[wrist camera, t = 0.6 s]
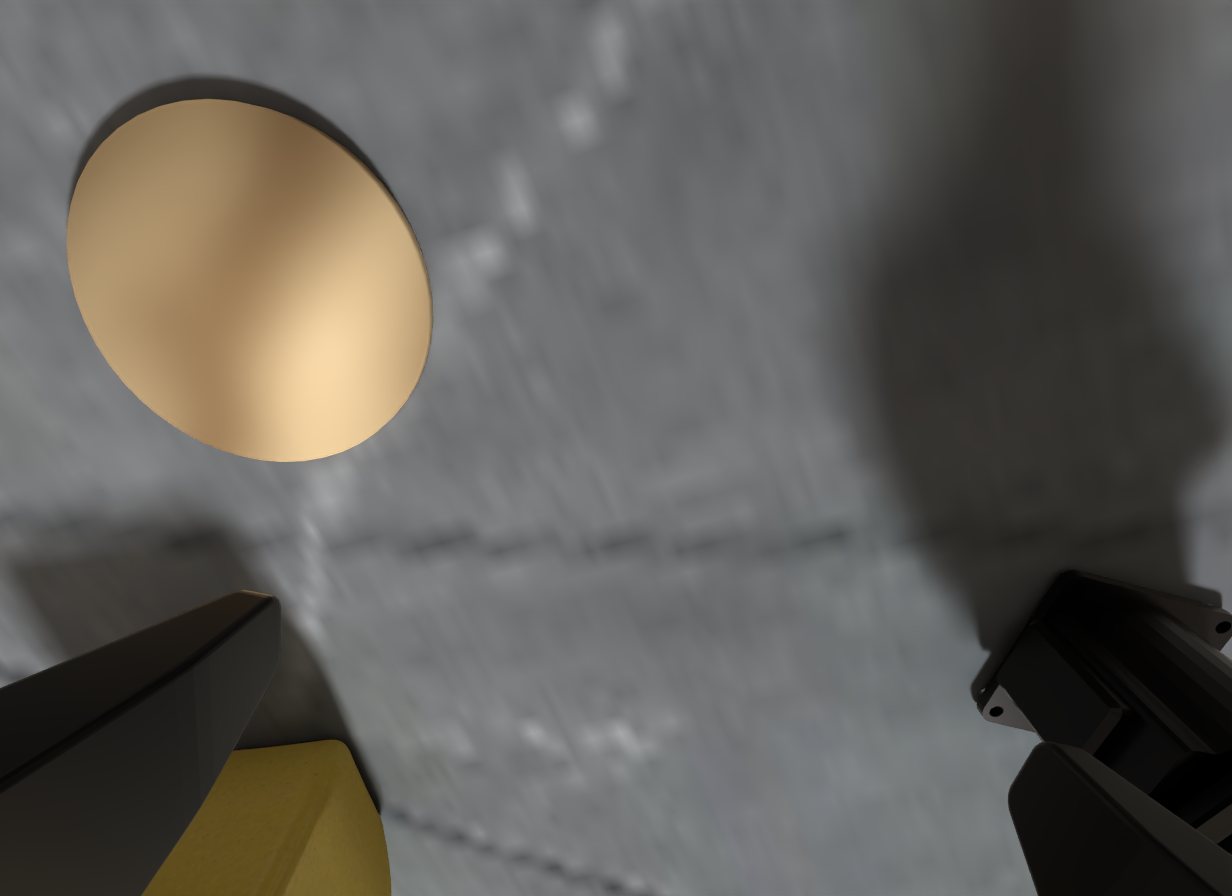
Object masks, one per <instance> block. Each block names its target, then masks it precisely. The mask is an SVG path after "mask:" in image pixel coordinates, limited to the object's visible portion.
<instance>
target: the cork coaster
mask: <svg viewBox="0 0 1232 896" xmlns="http://www.w3.org/2000/svg"><path fill="white" fill-rule="evenodd" d="M67 256H68V265H69V273H70V278H71V282H72V286H73V290H74V294H75V298H76V300H77V303H78V306H79V308H80V311H81V314H82V317H83V319H84V322H85V324H86V326H87V328H88V329H89V331H90V333H91V335H92V337H93V339H94V341H95V343H96V345H97V346H98V348H99V349H100V351H101V353H102V354H103V356H104V357H105V359H106V360H107V362H108V363H109V365H110V366H111V367H112V369H113V370H114V371H115V372H116V374H117V375H118V376H119V377H120V379H121V380H122V381H123V382H124V383H125V384H126V386H127V387H128V388H129V389H130V390H131V391H132V392H133V393H134V394H135V395H136V396H137V397H138V398H139V399H140V400H141V401H142V402H143V403H145V404H146V405H147V406H148V407H149V408H151V409H152V410H153V411H154V412H155V413H156V414H158V415H159V416H160V417H162V418H163V419H164V420H166V421H167V422H169V423H170V424H172V425H173V426H175V427H176V428H178V429H179V430H181V431H183V432H184V433H186V434H188V435H190V436H192V437H193V438H195V439H197V440H199V441H201V442H203V443H206V444H208V445H210V446H213V447H215V448H217V449H220V450H223V451H226V452H229V453H233V454H236V455H239V456H243V457H248V458H253V459H258V460H265V461H279V462H293V461H307V460H313V459H318V458H324V457H327V456H330V455H333V454H337V453H340V452H343V451H345V450H347V449H349V448H351V447H353V446H355V445H357V444H359V443H361V442H363V441H364V440H366V439H367V438H369V437H370V436H372V435H373V434H374V433H376V432H377V431H378V430H379V429H380V428H381V427H383V426H384V425H385V424H386V423H387V422H388V421H389V420H390V419H391V418H392V417H393V416H394V415H395V414H396V413H397V412H398V411H399V410H400V409H401V407H402V406H403V405H404V404H405V402H406V401H407V400H408V399H409V397H410V396H411V394H412V392H413V390H414V389H415V387H416V385H417V383H418V382H419V380H420V377H421V375H422V372H423V369H424V367H425V364H426V362H427V357H428V353H429V349H430V345H431V338H432V328H433V301H432V293H431V287H430V280H429V275H428V271H427V268H426V264H425V261H424V258H423V254H422V251H421V249H420V246H419V244H418V242H417V239H416V237H415V235H414V232H413V230H412V228H411V226H410V224H409V222H408V221H407V219H406V217H405V215H404V214H403V212H402V210H401V208H400V207H399V205H398V204H397V202H396V201H395V200H394V198H393V197H392V196H391V194H390V193H389V191H388V190H387V189H386V187H385V186H384V185H383V183H382V182H381V181H380V180H379V179H378V178H377V177H376V176H375V175H374V174H373V173H372V171H371V170H370V169H369V168H368V167H367V166H366V165H365V164H364V163H363V162H362V161H361V160H359V159H358V158H357V157H356V156H355V155H354V154H352V153H351V152H350V151H349V150H348V149H347V148H346V147H344V146H343V145H341V144H340V143H338V142H337V141H336V140H334V139H333V138H331V137H330V136H328V135H327V134H325V133H324V132H322V131H321V130H319V129H317V128H315V127H313V126H311V125H309V124H307V123H305V122H303V121H301V120H299V119H297V118H294V117H292V116H289V115H286V114H284V113H281V112H278V111H275V110H273V109H268V108H264V107H260V106H255V105H251V104H246V103H242V102H237V101H230V100H217V99H198V100H184V101H179V102H175V103H171V104H166V105H162V106H159V107H156V108H154V109H151V110H149V111H147V112H144V113H142V114H139V115H137V116H136V117H134V118H133V119H131V120H130V121H128V122H126V123H125V124H123V125H122V126H120V127H119V128H117V129H116V130H115V131H114V132H113V133H112V134H111V135H110V136H109V137H108V138H107V139H106V140H105V141H104V142H102V143H101V145H100V146H99V147H98V149H97V150H96V151H95V153H94V154H93V155H92V157H91V158H90V159H89V161H88V162H87V164H86V166H85V168H84V170H83V172H82V174H81V176H80V178H79V180H78V182H77V185H76V188H75V192H74V195H73V198H72V201H71V205H70V211H69V218H68V224H67Z"/></svg>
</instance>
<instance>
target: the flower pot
mask: <svg viewBox="0 0 1232 896" xmlns="http://www.w3.org/2000/svg"><path fill="white" fill-rule="evenodd" d="M142 896H391V877H390V867H389V859H388V852H387V846H386V841H385V835H384V830H383V824H382V821H381V818H380V816H379V814H378V812H377V810H376V808H375V806H374V804H373V801H372V799H371V797H370V795H369V793H368V791H367V789H366V787H365V785H364V783H363V780H362V778H361V776H360V773H359V771H358V769H357V767H356V765H355V762H354V760H353V758H352V755H351V753H350V751H349V749H348V747H347V746H346V745H345V744H344V743H343V742H341V741H339V740H322V741H315V742H307V743H299V744H291V745H284V746H275V747H265V748H256V749H246V750H237V751H232V753H231V755H230V757H229V759H228V760H227V762H226V764H225V766H224V768H223V770H222V771H221V773H220V775H219V777H218V779H217V780H216V782H215V784H214V786H213V788H212V789H211V791H210V793H209V794H208V796H207V798H206V800H205V801H204V803H203V805H202V807H201V808H200V810H199V811H198V813H197V814H196V816H195V817H194V819H193V820H192V822H191V823H190V825H189V827H188V828H187V830H186V831H185V833H184V834H183V836H182V837H181V838H180V840H179V841H178V843H177V844H176V846H175V847H174V849H173V850H172V852H171V853H170V855H169V856H168V857H167V859H166V860H165V862H164V863H163V865H162V866H161V868H160V869H159V871H158V872H157V874H156V875H155V877H154V878H153V879H152V881H151V882H150V884H149V885H148V887H147V888H146V890H145V891H144V893H143V894H142Z"/></svg>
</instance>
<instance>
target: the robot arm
mask: <svg viewBox="0 0 1232 896" xmlns="http://www.w3.org/2000/svg"><path fill="white" fill-rule="evenodd" d="M1076 583H1077V584H1076ZM1074 584H1076V585H1075V586H1074V587H1073V588H1070V587H1071V586H1072V585H1074ZM1231 637H1232V614H1230V613H1229V612H1228V611H1226V610H1224V609H1222V608H1218V607H1215V606H1211V605H1207V604H1203V603H1199V602H1196V601H1192V600H1188V599H1184V598H1180V597H1177V596H1173V595H1169V594H1165V593H1161V592H1157V591H1154V590H1150V589H1146V588H1142V587H1138V586H1135V585H1131V584H1127V583H1123V582H1119V581H1116V580H1112V579H1108V578H1104V577H1100V576H1096V575H1093V574H1089V573H1085V572H1081V571H1077V570H1070V571H1066V572H1064V573H1062V574H1060V575H1059V576H1058V577H1057V579H1056V580H1055V581H1054V583H1053V585H1052V586H1051V588H1050V589H1049V591H1048V592H1047V594H1046V595H1045V597H1044V599H1043V600H1042V602H1041V603H1040V605H1039V606H1038V608H1037V610H1036V611H1035V613H1034V614H1033V616H1032V617H1031V619H1030V620H1029V622H1028V624H1027V625H1026V627H1025V628H1024V630H1023V631H1022V633H1021V634H1020V636H1019V638H1018V639H1017V641H1016V642H1015V644H1014V645H1013V647H1012V648H1011V650H1010V652H1009V653H1008V655H1007V656H1006V658H1005V659H1004V661H1003V663H1002V664H1001V666H1000V667H999V669H998V670H997V672H996V673H995V675H994V677H993V678H992V680H991V681H990V683H989V684H988V686H987V687H986V689H985V691H984V692H983V694H982V695H981V697H980V698H979V700H978V702H977V709H978V710H979V712H980V713H981V715H982V716H983V717H984V719H985V720H987V721H989V722H993V723H998V724H1002V725H1006V726H1010V727H1014V728H1019V729H1023V730H1027V731H1031V732H1036V734H1037V735H1038V736H1039V738H1040V739H1041V740H1042V742H1041V743H1039V744H1038V745H1036V746H1035V747H1034V749H1033V750H1032V752H1031V753H1030V755H1029V757H1028V758H1027V760H1026V761H1025V763H1024V765H1023V766H1022V768H1021V770H1020V771H1019V773H1018V775H1017V776H1016V778H1015V780H1014V781H1013V783H1012V785H1011V787H1010V789H1009V793H1008V806H1009V811H1010V814H1011V817H1012V820H1013V823H1014V826H1015V829H1016V832H1017V835H1018V838H1019V841H1020V844H1021V847H1022V850H1023V853H1024V856H1025V859H1026V862H1027V865H1028V868H1029V871H1030V874H1031V877H1032V880H1033V883H1034V885H1035V888H1036V891H1037V894H1038V896H1232V660H1230V659H1229V658H1228V657H1226V656H1225V655H1224V654H1223V653H1221V652H1220V651H1221V649H1222V648H1223V647H1224V646H1225V644H1226V643H1227V642H1228V641H1229V639H1230V638H1231ZM280 654H281V606H280V602H279V600H278V598H276V597H275V596H273V595H269V594H264V593H259V592H254V591H248V590H239V591H236V592H233V593H230V594H228V595H225V596H223V597H220V598H218V599H216V600H213V601H211V602H208V603H206V604H203V605H201V606H199V607H196V608H194V609H191V610H189V611H186V612H184V613H182V614H179V615H177V616H174V617H172V618H169V619H167V620H165V621H162V622H160V623H157V624H155V625H152V626H150V627H148V628H145V629H143V630H140V631H138V632H135V633H133V634H131V635H128V636H126V637H123V638H121V639H118V640H116V641H113V642H111V643H109V644H106V645H104V646H101V647H99V648H96V649H94V650H92V651H89V652H87V653H84V654H82V655H79V656H77V657H75V658H72V659H70V660H67V661H65V662H62V663H60V664H58V665H55V666H53V667H50V668H48V669H45V670H43V671H41V672H38V673H36V674H33V675H31V676H28V677H26V678H24V679H21V680H19V681H16V682H14V683H11V684H9V685H7V686H4V687H2V688H0V896H142V894H143V893H144V891H145V890H146V888H147V887H148V885H149V884H150V882H151V881H152V879H153V878H154V877H155V875H156V874H157V872H158V871H159V869H160V868H161V866H162V865H163V863H164V862H165V860H166V859H167V857H168V856H169V855H170V853H171V852H172V850H173V849H174V847H175V846H176V844H177V843H178V841H179V840H180V838H181V837H182V836H183V834H184V833H185V831H186V830H187V828H188V827H189V825H190V823H191V822H192V820H193V819H194V817H195V816H196V814H197V813H198V811H199V810H200V808H201V807H202V805H203V803H204V801H205V800H206V798H207V796H208V794H209V793H210V791H211V789H212V788H213V786H214V784H215V782H216V780H217V779H218V777H219V775H220V773H221V771H222V770H223V768H224V766H225V764H226V762H227V760H228V759H229V757H230V755H231V753H232V751H233V750H234V748H235V746H236V744H237V742H238V740H239V739H240V737H241V735H242V733H243V731H244V729H245V728H246V726H247V724H248V722H249V720H250V719H251V717H252V715H253V713H254V711H255V709H256V708H257V706H258V704H259V702H260V700H261V699H262V697H263V695H264V693H265V691H266V689H267V688H268V686H269V684H270V682H271V680H272V678H273V677H274V675H275V672H276V670H277V667H278V664H279V660H280ZM993 707H994V708H993Z"/></svg>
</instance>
